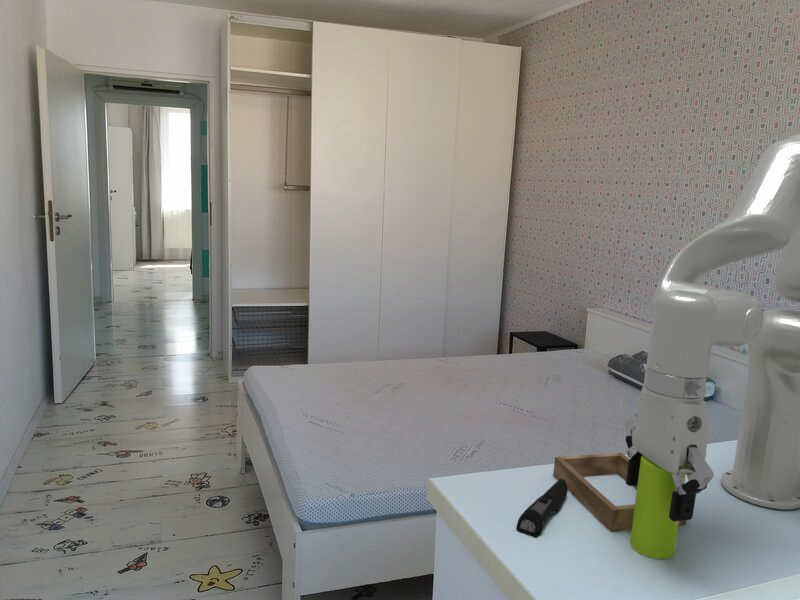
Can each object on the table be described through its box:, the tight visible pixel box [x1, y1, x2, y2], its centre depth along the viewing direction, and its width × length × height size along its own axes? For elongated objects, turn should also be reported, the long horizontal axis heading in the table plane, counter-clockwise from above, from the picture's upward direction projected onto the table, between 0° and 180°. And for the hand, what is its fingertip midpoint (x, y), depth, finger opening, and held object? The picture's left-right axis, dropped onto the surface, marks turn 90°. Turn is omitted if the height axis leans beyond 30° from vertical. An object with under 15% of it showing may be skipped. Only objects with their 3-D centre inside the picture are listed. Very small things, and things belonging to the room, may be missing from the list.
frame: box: [552, 452, 688, 533], centre depth 104 cm, size 13×18×4 cm
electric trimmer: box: [515, 479, 569, 538], centre depth 98 cm, size 4×16×3 cm, turn 147°
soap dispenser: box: [629, 425, 686, 560], centre depth 88 cm, size 6×7×20 cm
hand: (657, 501), depth 88 cm, fingers open, 9 cm apart
